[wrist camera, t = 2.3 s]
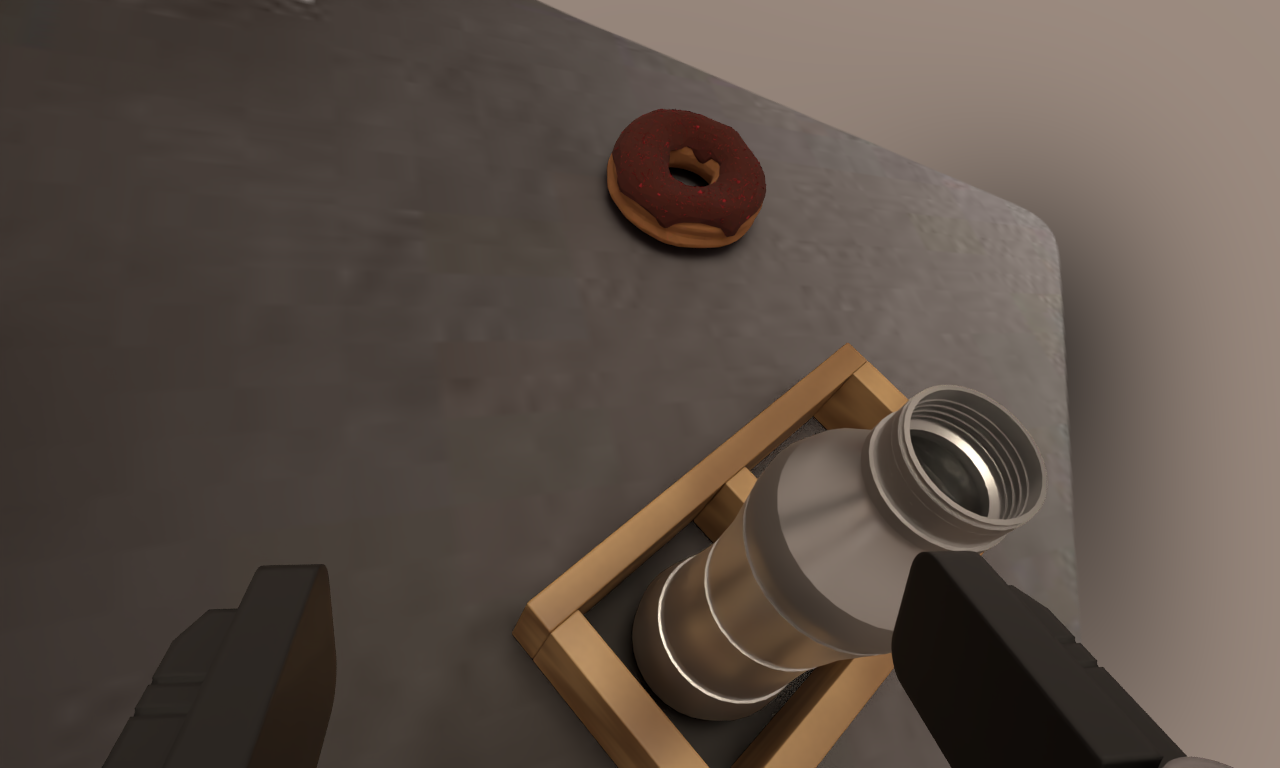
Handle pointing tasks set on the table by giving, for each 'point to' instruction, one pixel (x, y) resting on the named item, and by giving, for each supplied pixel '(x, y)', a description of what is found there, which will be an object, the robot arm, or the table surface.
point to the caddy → (712, 496)
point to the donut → (673, 205)
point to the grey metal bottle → (833, 550)
